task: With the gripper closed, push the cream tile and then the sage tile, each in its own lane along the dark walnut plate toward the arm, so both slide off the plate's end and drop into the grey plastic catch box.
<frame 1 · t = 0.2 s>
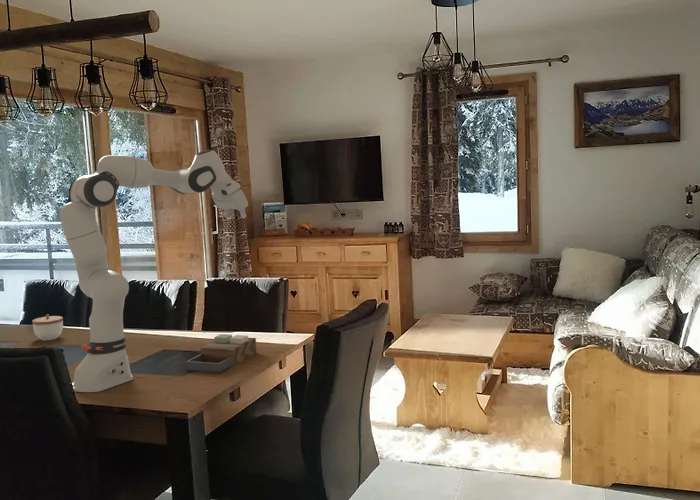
hand: (238, 217, 255), 54 cm above the table, tool tilted 30°, fingers open, 8 cm apart
lidded bowl: (49, 339, 287), on the table
cream tile: (239, 341, 245), point 6 cm above the table, touching walnut plate
walnut plate: (229, 357, 245), on the table
sage tile: (223, 340, 247), point 6 cm above the table, touching walnut plate
catch box: (210, 368, 232), on the table
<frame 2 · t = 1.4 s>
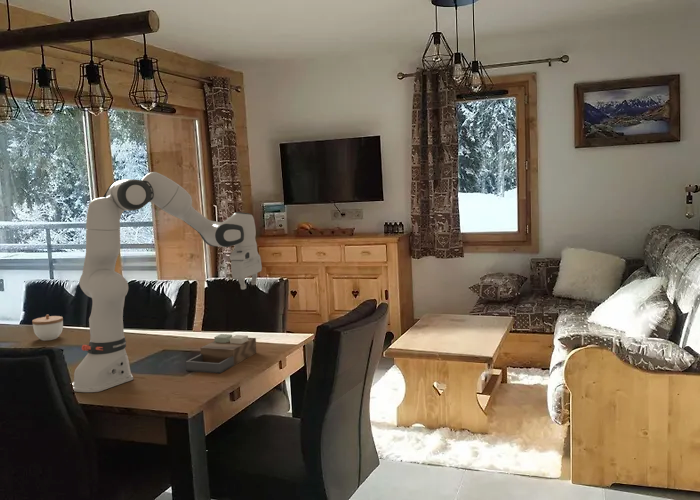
hand: (248, 286, 252), 26 cm above the table, tool pointing down, fingers open, 8 cm apart
nothing on the table moved.
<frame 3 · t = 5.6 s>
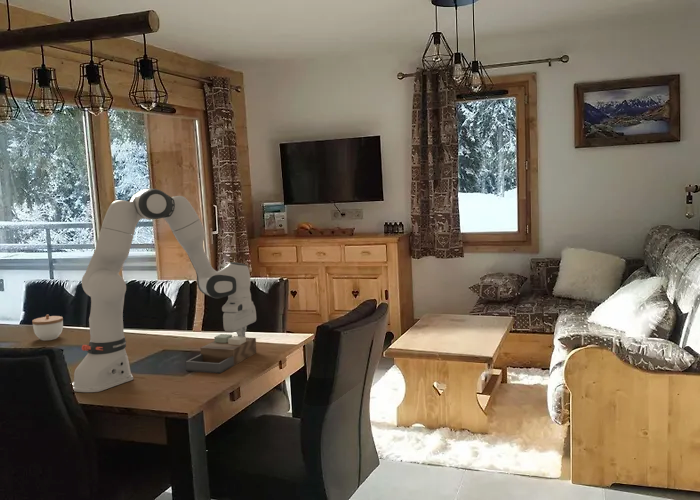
hand: (241, 338, 247), 7 cm above the table, tool pointing down, fingers closed
cream tile: (237, 342, 243), point 6 cm above the table, touching gripper, walnut plate
everything else where it was.
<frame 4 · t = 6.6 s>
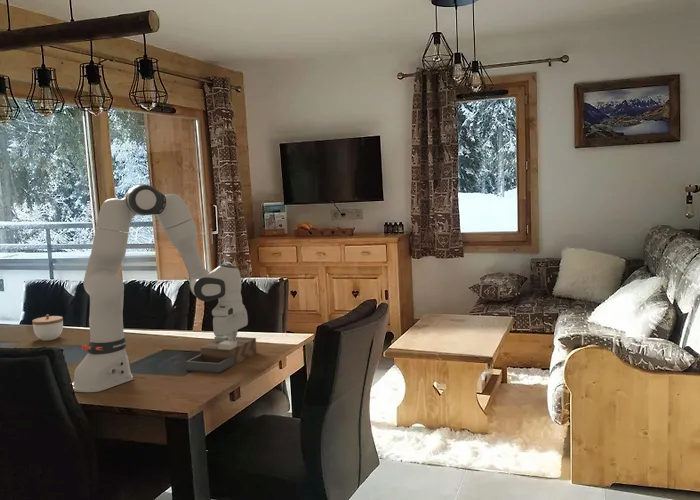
hand: (232, 342, 240), 7 cm above the table, tool pointing down, fingers closed
cream tile: (227, 347, 237), point 6 cm above the table, touching gripper, walnut plate
everything else where it was.
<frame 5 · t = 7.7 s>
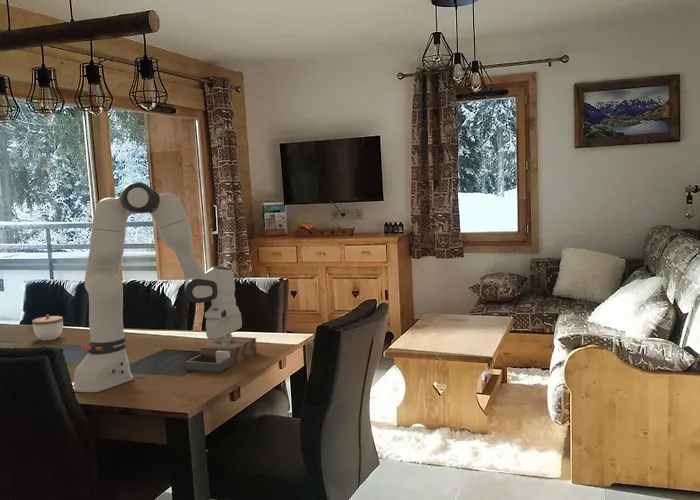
hand: (226, 345, 236), 7 cm above the table, tool pointing down, fingers closed
cream tile: (224, 357, 234), point 3 cm above the table, tilted 90°, touching catch box
everything else where it was.
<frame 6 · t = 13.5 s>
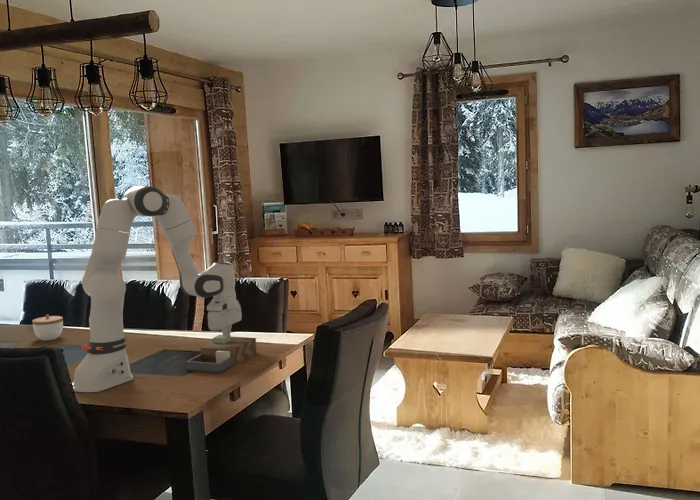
hand: (226, 336, 250), 7 cm above the table, tool pointing down, fingers closed
sage tile: (222, 341, 246), point 6 cm above the table, touching gripper, walnut plate
everything else where it was.
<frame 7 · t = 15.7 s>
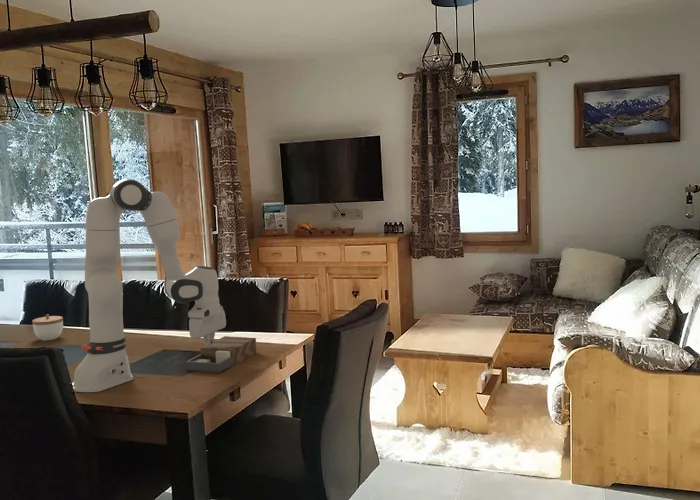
hand: (209, 344, 238), 7 cm above the table, tool pointing down, fingers closed
sage tile: (200, 361, 232), point 3 cm above the table, tilted 180°, touching catch box
everything else where it was.
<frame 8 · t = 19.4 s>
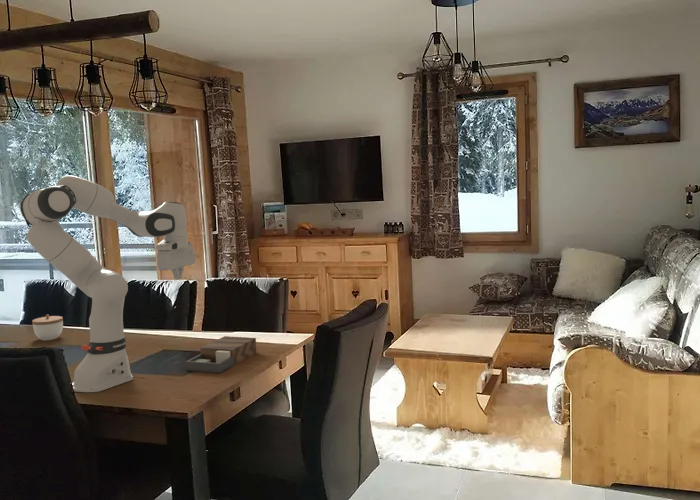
hand: (178, 278, 245), 31 cm above the table, tool pointing down, fingers closed
nothing on the table moved.
at the end: cream tile inside the target area on the catch box (5.4 cm from its centre), point 3.1 cm above the catch box's base; sage tile inside the target area on the catch box (3.5 cm from its centre), point 2.6 cm above the catch box's base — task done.
